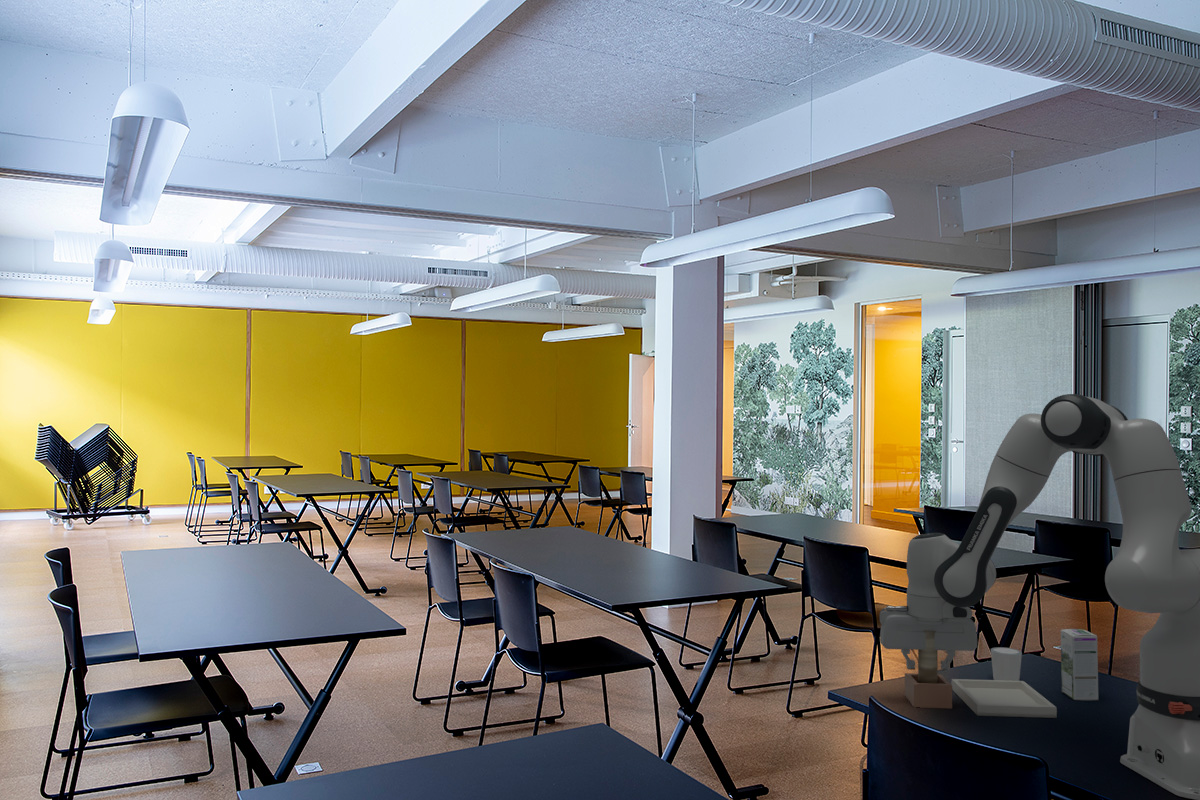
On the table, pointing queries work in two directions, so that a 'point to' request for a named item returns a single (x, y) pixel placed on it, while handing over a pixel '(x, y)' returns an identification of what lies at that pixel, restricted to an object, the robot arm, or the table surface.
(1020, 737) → the table surface
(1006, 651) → the grey cup
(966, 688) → the tray
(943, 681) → the brown square sleeve
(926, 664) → the olive grey ringed cylinder
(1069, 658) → the syrup box
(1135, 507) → the robot arm
